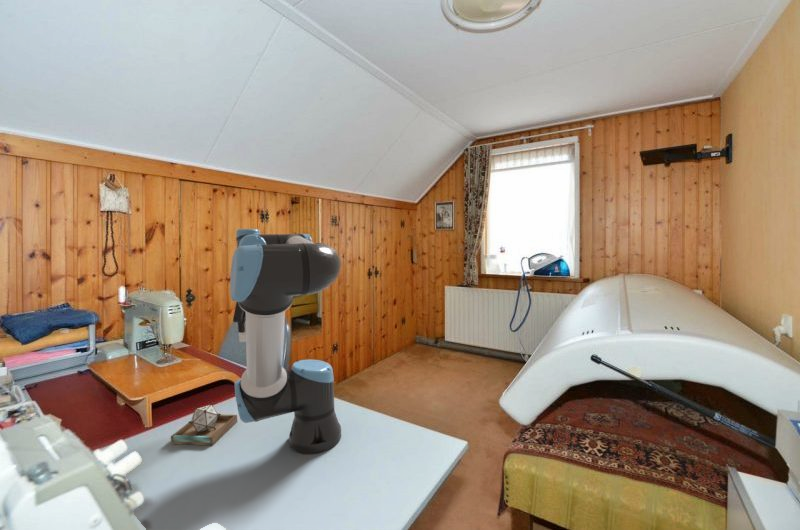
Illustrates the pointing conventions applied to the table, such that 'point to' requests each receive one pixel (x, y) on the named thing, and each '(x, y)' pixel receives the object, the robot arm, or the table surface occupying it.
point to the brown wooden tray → (204, 432)
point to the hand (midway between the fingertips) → (254, 335)
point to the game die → (204, 418)
